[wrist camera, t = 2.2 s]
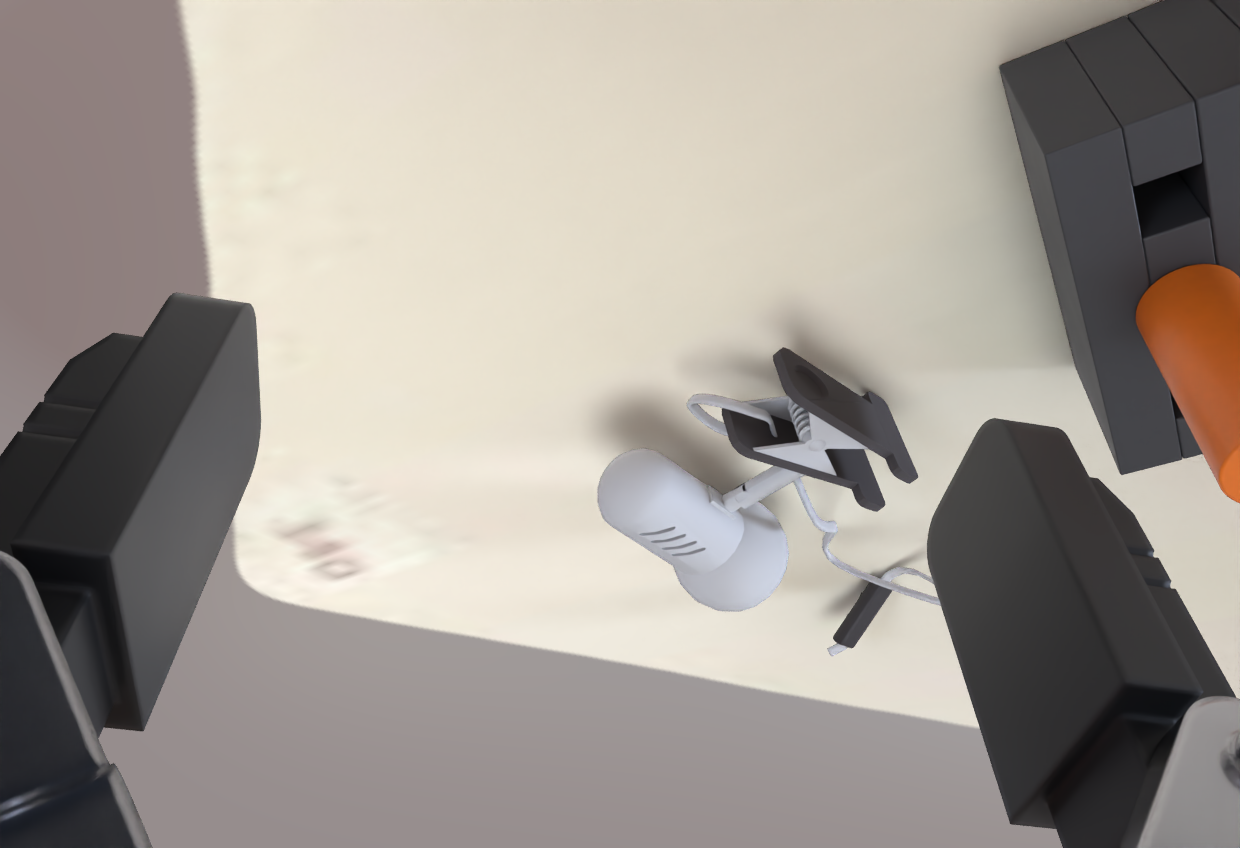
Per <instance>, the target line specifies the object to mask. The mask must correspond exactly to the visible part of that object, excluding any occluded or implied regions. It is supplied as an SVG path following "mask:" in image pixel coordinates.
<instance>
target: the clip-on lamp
mask: <svg viewBox="0 0 1240 848" xmlns="http://www.w3.org/2000/svg"><path fill="white" fill-rule="evenodd" d="M773 361H774V364H775V367H776V370H777V372H778V375H779V378H780V381H781V384H782V387H783V389H784V390H785V392H786V394H787V395H788V396H784V397H776V398H768V399H760V400H752V401H744V402H740V401H737V400H734V399H730V398H726V397H722V396H717V395H710V394H696V395H693V396H692V397H691V398H690V399H689V401H688V402H687V407H688V409H689V410H690V411H691V413H692V414H693V415H694V416H695V417H696V418H697V419H699V420H700V421H701V422H702V423H704V424H705V425H706V426H708V427H709V428H711V429H712V430H714V431H715V432H718V433H720V434H723V435H725V436H728V437H729V440H730V442H731V444H732V446H733V447H734V448H735V449H736V451H737V452H738V453H740V454H741V455H743V456H745V457H747V458H750V459H754V460H757V461H760V462H764V463H767V464H770V465H774V466H773V467H771V468H769V469H768V470H766V471H764V472H762V473H761V474H759V475H757V476H755V477H754V478H752V479H750V480H749V481H747V482H745V483H743V484H742V485H740V486H738V487H736V488H735V489H733V490H732V491H730V492H728V493H726V494H725V495H723V494H721V493H720V492H718V491H717V490H716V489H714V488H713V487H712V486H710V485H709V486H707V485H705V484H704V483H702V482H701V481H699V480H698V479H697V478H695V477H694V476H692V475H691V474H690V473H688V472H687V471H685V470H684V469H682V468H681V467H680V466H678V465H677V464H675V463H674V462H673V461H671V460H670V459H668V458H667V457H665V456H664V455H663V454H661V453H659V452H656V451H653V450H650V449H646V448H642V449H634V450H630V451H628V452H625V453H623V454H621V455H619V456H618V457H616V458H615V459H614V460H613V461H611V463H610V464H609V465H608V466H607V468H606V469H605V470H604V472H603V474H602V476H601V478H600V481H599V485H598V505H599V508H600V511H601V514H602V517H603V519H604V520H605V521H606V522H607V523H608V524H609V525H610V526H612V527H613V528H615V529H616V530H618V531H620V532H621V533H623V534H624V535H626V536H627V537H629V538H630V539H632V540H634V541H635V542H637V543H638V544H640V545H641V546H643V547H644V548H646V549H648V550H649V551H651V552H652V553H654V554H655V555H657V556H659V557H660V558H662V559H663V560H665V561H666V562H668V563H669V564H671V565H673V567H674V570H675V572H676V575H677V577H678V579H679V582H680V584H681V585H682V586H683V588H684V589H685V590H686V591H687V592H688V593H689V594H690V595H691V596H692V597H693V598H694V599H695V600H696V601H698V602H699V603H701V604H704V605H706V606H708V607H711V608H713V609H715V610H718V611H743V610H746V609H749V608H752V607H755V606H757V605H758V604H760V603H761V602H762V601H764V600H765V599H767V598H768V597H769V596H770V595H771V594H772V593H773V591H774V590H775V589H776V588H777V586H778V585H779V584H780V582H781V579H782V577H783V575H784V573H785V571H786V568H787V561H788V555H789V551H788V544H787V538H786V534H785V532H784V531H783V529H782V527H781V525H780V523H779V521H778V519H777V518H776V516H775V515H774V514H772V513H771V512H770V511H769V510H768V509H767V508H766V507H764V506H763V505H762V504H761V503H759V502H758V501H760V500H761V499H763V498H765V497H767V496H768V495H770V494H772V493H774V492H776V491H777V490H779V489H781V488H783V487H784V486H786V485H788V484H790V483H792V482H794V484H795V486H796V489H797V491H798V493H799V496H800V498H801V500H802V503H803V505H804V507H805V509H806V511H807V514H808V516H809V517H810V519H811V521H812V522H813V524H814V525H815V526H816V527H817V528H818V529H819V530H821V531H823V532H825V535H824V537H823V544H822V548H823V551H824V553H825V555H826V557H827V559H828V560H830V561H831V562H832V563H833V564H835V565H836V566H837V567H839V568H841V569H843V570H844V571H846V572H848V573H850V574H852V575H854V576H857V577H859V578H862V579H864V580H867V581H869V582H870V583H869V584H868V586H867V587H866V588H865V590H864V591H863V593H862V592H861V595H860V597H859V599H858V600H857V602H856V603H855V605H854V606H853V608H852V609H851V611H850V612H849V614H848V615H847V617H846V618H845V620H844V621H843V623H842V624H841V626H840V627H839V629H838V630H837V632H836V633H835V635H834V636H833V639H834V640H835V642H837V644H835V645H833V646H831V647H829V648H827V650H828V652H829V654H830V655H831V656H834V655H836V654H837V653H839V652H841V651H843V650H845V649H847V648H848V647H849V648H853V647H854V646H855V645H856V643H857V642H858V640H859V639H860V638H861V636H862V635H863V633H864V632H865V630H866V629H867V627H868V626H869V624H870V623H871V621H872V620H873V618H874V617H875V615H876V614H877V612H878V611H879V609H880V608H881V607H882V605H883V604H884V602H885V601H886V599H887V598H888V596H889V595H890V593H891V592H892V590H893V591H896V592H899V593H902V594H905V595H908V596H911V597H914V598H917V599H920V600H923V601H926V602H930V603H933V604H936V605H940V606H941V604H940V601H939V598H937V597H934V596H930V595H927V594H924V593H921V592H918V591H915V590H911V589H908V588H905V587H902V586H900V585H897V584H894V583H891V581H892V580H893V578H894V577H897V576H899V575H902V574H904V573H906V574H912V575H917V576H920V577H922V578H924V579H926V580H928V581H930V582H931V583H933V584H934V582H933V579H932V577H930V576H927V575H925V574H923V573H921V572H919V571H917V570H915V569H910V568H904V567H897V568H894V569H892V570H890V571H887V572H886V573H885V574H884V575H883V577H882V578H881V579H880V578H877V577H875V576H872V575H870V574H867V573H865V572H862V571H860V570H857V569H855V568H853V567H851V566H849V565H847V564H845V563H843V562H841V561H840V560H839V559H837V558H836V557H835V556H834V555H833V554H831V553H830V551H829V549H828V544H829V543H830V541H831V539H832V538H833V537H834V536H835V534H836V533H837V532H838V528H837V524H836V522H835V521H828V522H827V521H824V520H822V519H821V518H820V517H819V516H818V515H817V514H816V512H815V510H814V508H813V507H812V504H811V502H810V500H809V497H808V495H807V493H806V490H805V488H804V486H803V483H802V481H801V479H800V477H802V476H804V475H807V476H810V477H814V478H817V479H820V480H824V481H827V482H830V483H834V484H837V485H840V486H844V487H847V488H850V489H852V491H853V494H854V496H855V499H856V501H857V503H858V504H859V505H860V506H862V507H864V508H866V509H869V510H872V511H876V512H878V511H879V510H880V509H881V508H883V507H884V506H885V501H884V498H883V496H882V493H881V491H880V488H879V486H878V483H877V481H876V478H875V476H874V473H873V471H872V468H871V466H870V463H869V461H868V458H867V456H866V453H865V451H864V449H870V450H872V451H874V452H875V453H877V454H878V455H880V456H882V457H883V458H885V459H886V461H887V464H888V466H889V469H890V470H891V472H892V473H893V475H894V476H895V477H897V478H898V479H900V480H902V481H904V482H906V483H909V484H910V483H911V482H913V481H914V480H916V479H917V478H918V474H917V472H916V470H915V467H914V465H913V463H912V460H911V458H910V456H909V454H908V451H907V449H906V447H905V444H904V442H903V440H902V437H901V435H900V433H899V431H898V428H897V426H896V424H895V421H894V419H893V417H892V414H891V412H890V410H889V408H888V406H887V404H886V402H885V401H884V400H883V399H882V398H880V397H879V396H877V395H875V394H873V393H872V392H867V393H866V394H865V395H864V396H862V397H861V396H859V395H858V394H856V393H854V392H853V391H851V390H850V389H848V388H847V387H845V386H844V385H842V384H841V383H839V382H838V381H836V380H835V379H833V378H832V377H830V376H829V375H827V374H826V373H824V372H823V371H821V370H820V369H818V368H817V367H815V366H813V365H812V364H810V363H809V362H807V361H806V360H804V359H803V358H801V357H800V356H798V355H797V354H795V353H794V352H792V351H791V350H789V349H787V348H784V347H783V348H782V349H780V350H779V351H778V352H777V353H776V354H774V355H773ZM698 404H706V405H711V406H716V407H721V408H722V416H723V420H724V423H723V422H720V421H718V420H716V419H715V418H713V417H712V416H710V415H709V414H708V413H707V412H705V411H704V410H703V409H702V408H701V407H700V406H699V405H698Z"/></svg>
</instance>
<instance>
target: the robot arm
mask: <svg viewBox="0 0 1240 848" xmlns="http://www.w3.org/2000/svg"><path fill="white" fill-rule="evenodd" d="M44 396H45V398H44V402H39V403H38V405H37V406H36V407H35V409H34V410H33V411H32V413H31V414H30V416H29V417H28V418H27V420H26V421H25V423H24V424H23V425H24V427H23V431H22V432H17V434H16V435H15V436H14V438H13V439H12V441H11V442H10V443H9V445H8V446H7V447H6V449H5V450H4V452H3V453H2V454H1V456H0V848H152V845H151V842H150V840H149V838H148V835H147V833H146V831H145V828H144V826H143V823H142V821H141V818H140V816H139V814H138V811H137V809H136V807H135V804H134V802H133V799H132V797H131V795H130V792H129V790H128V788H127V786H126V784H125V782H124V779H123V777H122V775H121V773H120V772H119V770H118V768H117V766H116V765H115V764H111V765H110V764H109V762H108V760H107V758H106V756H105V753H104V751H103V749H102V746H101V744H100V742H99V739H98V738H99V736H100V734H101V732H102V729H103V727H106V728H115V729H126V730H135V731H144V729H145V726H146V724H147V721H148V719H149V717H150V714H151V712H152V709H153V707H154V705H155V703H156V700H157V698H158V695H159V693H160V691H161V688H162V685H163V684H164V681H165V679H166V676H167V674H168V672H169V669H170V667H171V665H172V662H173V660H174V657H175V655H176V653H177V650H178V647H179V645H180V643H181V641H182V638H183V636H184V634H185V631H186V629H187V627H188V624H189V622H190V619H191V617H192V614H193V612H194V610H195V608H196V605H197V602H198V600H199V598H200V596H201V593H202V591H203V588H204V586H205V584H206V581H207V579H208V576H209V574H210V572H211V570H212V567H213V565H214V562H215V560H216V557H217V555H218V553H219V551H220V548H221V545H222V543H223V541H224V539H225V536H226V534H227V532H228V529H229V527H230V524H231V522H232V520H233V517H234V515H235V513H236V510H237V508H238V505H239V503H240V501H241V498H242V496H243V494H244V491H245V489H246V486H247V484H248V482H249V479H250V477H251V474H252V471H253V468H254V465H255V461H256V457H257V452H258V446H259V439H260V429H261V410H260V389H259V369H258V349H257V329H256V317H255V312H254V309H253V307H252V305H251V304H249V303H242V302H236V301H229V300H223V299H216V298H209V297H203V296H196V295H190V294H183V293H173V294H172V295H171V296H170V297H169V298H168V300H167V301H166V302H165V304H164V305H163V307H162V308H161V310H160V311H159V313H158V315H157V316H156V318H155V319H154V321H153V322H152V324H151V326H150V327H149V328H148V330H147V331H146V333H145V335H144V336H143V337H139V336H132V335H125V334H118V333H112V334H111V335H109V336H107V337H106V338H104V339H102V340H101V341H99V342H98V343H96V344H94V345H93V346H91V347H90V348H88V349H86V350H85V351H83V352H82V353H80V354H78V355H77V356H75V357H74V358H72V359H70V360H69V362H68V363H67V364H66V366H65V367H64V369H63V370H62V371H61V373H60V374H59V375H58V377H57V378H56V380H55V381H54V382H53V384H52V385H51V387H50V388H49V389H48V391H47V392H46V394H45V395H44ZM1153 552H1154V549H1153V548H1152V546H1151V544H1150V542H1149V540H1148V539H1147V537H1146V535H1145V533H1144V531H1143V530H1142V528H1141V526H1140V524H1139V523H1138V521H1137V519H1136V517H1135V515H1134V514H1133V513H1132V512H1131V511H1130V510H1129V509H1128V508H1127V507H1126V506H1125V505H1124V504H1123V503H1122V502H1121V501H1120V500H1119V499H1118V498H1117V497H1116V496H1115V495H1114V494H1113V493H1112V492H1111V491H1110V490H1109V489H1108V488H1107V487H1106V486H1105V485H1104V484H1103V483H1102V482H1101V481H1100V480H1099V479H1098V478H1091V477H1089V475H1088V474H1087V472H1086V470H1085V468H1084V466H1083V464H1082V462H1081V460H1080V459H1079V457H1078V455H1077V453H1076V451H1075V449H1074V447H1073V445H1072V444H1071V442H1070V440H1069V438H1068V436H1067V435H1066V433H1065V432H1063V431H1062V430H1061V429H1059V428H1055V427H1049V426H1042V425H1036V424H1029V423H1022V422H1016V421H1009V420H1003V419H996V418H994V419H990V420H988V421H986V422H985V423H984V424H983V425H982V426H981V428H980V429H979V430H978V432H977V434H976V435H975V437H974V439H973V441H972V443H971V445H970V447H969V449H968V451H967V452H966V454H965V456H964V458H963V460H962V462H961V464H960V466H959V468H958V469H957V471H956V473H955V475H954V477H953V479H952V481H951V483H950V485H949V486H948V488H947V490H946V492H945V494H944V496H943V498H942V500H941V501H940V503H939V505H938V507H937V509H936V511H935V513H934V515H933V518H932V521H931V524H930V528H929V533H928V540H927V558H928V565H929V569H930V572H931V575H932V579H933V582H934V585H935V588H936V591H937V594H938V597H939V601H940V604H941V607H942V610H943V613H944V616H945V620H946V623H947V626H948V629H949V632H950V635H951V638H952V642H953V645H954V648H955V651H956V654H957V657H958V660H959V664H960V667H961V670H962V673H963V676H964V679H965V683H966V686H967V689H968V692H969V695H970V698H971V701H972V705H973V708H974V711H975V714H976V717H977V720H978V723H979V727H980V730H981V733H982V736H983V739H984V742H985V745H986V748H987V752H988V755H989V758H990V761H991V764H992V768H993V771H994V774H995V777H996V780H997V783H998V786H999V790H1000V793H1001V796H1002V799H1003V802H1004V805H1005V809H1006V812H1007V815H1008V818H1009V821H1010V824H1013V825H1023V826H1033V827H1042V828H1052V829H1057V832H1058V835H1059V838H1060V841H1061V843H1062V846H1063V848H1240V699H1239V698H1236V696H1235V694H1234V692H1233V691H1232V689H1231V687H1230V685H1229V683H1228V682H1227V680H1226V678H1225V676H1224V674H1223V673H1222V671H1221V669H1220V667H1219V666H1218V664H1217V662H1216V660H1215V658H1214V657H1213V655H1212V653H1211V651H1210V649H1209V648H1208V646H1207V644H1206V642H1205V641H1204V639H1203V637H1202V635H1201V633H1200V632H1199V630H1198V628H1197V626H1196V624H1195V623H1194V621H1193V619H1192V617H1191V615H1190V614H1189V612H1188V610H1187V608H1186V607H1185V605H1184V603H1183V601H1182V599H1181V598H1180V596H1179V594H1178V592H1177V590H1176V589H1171V588H1170V583H1171V580H1170V578H1169V576H1168V574H1167V573H1166V571H1165V569H1164V567H1163V565H1162V564H1161V562H1160V560H1159V558H1154V557H1153Z"/></svg>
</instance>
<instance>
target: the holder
mask: <svg viewBox="0 0 1240 848" xmlns="http://www.w3.org/2000/svg"><path fill="white" fill-rule="evenodd" d="M999 69H1000V73H1001V77H1002V81H1003V85H1004V89H1005V92H1006V96H1007V100H1008V104H1009V108H1010V112H1011V116H1012V120H1013V124H1014V128H1015V132H1016V136H1017V140H1018V143H1019V147H1020V151H1021V155H1022V159H1023V163H1024V167H1025V171H1026V175H1027V179H1028V183H1029V187H1030V191H1031V194H1032V198H1033V202H1034V206H1035V210H1036V214H1037V218H1038V222H1039V226H1040V230H1041V234H1042V238H1043V241H1044V245H1045V249H1046V253H1047V257H1048V261H1049V265H1050V269H1051V273H1052V277H1053V281H1054V285H1055V289H1056V292H1057V296H1058V300H1059V304H1060V308H1061V312H1062V316H1063V320H1064V324H1065V328H1066V332H1067V336H1068V340H1069V343H1070V347H1071V351H1072V355H1073V359H1074V363H1075V367H1076V370H1077V372H1078V375H1079V377H1080V379H1081V382H1082V384H1083V386H1084V389H1085V391H1086V394H1087V396H1088V398H1089V401H1090V403H1091V405H1092V408H1093V410H1094V413H1095V415H1096V417H1097V420H1098V422H1099V425H1100V427H1101V429H1102V432H1103V434H1104V436H1105V439H1106V441H1107V444H1108V446H1109V448H1110V451H1111V453H1112V455H1113V458H1114V460H1115V463H1116V465H1117V467H1118V470H1119V472H1120V474H1121V475H1124V474H1128V473H1132V472H1136V471H1140V470H1143V469H1147V468H1151V467H1155V466H1159V465H1163V464H1167V463H1171V462H1175V461H1179V460H1182V457H1183V458H1189V457H1193V456H1197V455H1201V454H1203V453H1202V451H1201V449H1200V447H1199V445H1198V443H1197V442H1196V440H1195V438H1194V436H1193V434H1192V432H1191V430H1190V428H1189V426H1188V424H1187V422H1186V420H1185V418H1184V416H1183V414H1182V412H1181V410H1180V409H1179V407H1178V405H1177V403H1176V401H1175V399H1174V397H1173V395H1172V393H1171V391H1170V389H1169V387H1168V385H1167V383H1166V381H1165V379H1164V378H1163V376H1162V374H1161V372H1160V370H1159V368H1158V366H1157V364H1156V362H1155V360H1154V358H1153V356H1152V354H1151V352H1150V350H1149V348H1148V347H1147V345H1146V343H1145V341H1144V339H1143V337H1142V335H1141V333H1140V331H1139V329H1138V327H1137V324H1136V310H1137V306H1138V304H1139V301H1140V300H1141V298H1142V296H1143V295H1144V293H1145V292H1146V291H1147V290H1148V289H1149V287H1150V286H1151V285H1153V284H1154V283H1155V282H1156V281H1157V280H1159V279H1160V278H1162V277H1163V276H1165V275H1167V274H1168V273H1170V272H1172V271H1175V270H1177V269H1180V268H1183V267H1186V266H1190V265H1196V264H1214V265H1219V266H1222V267H1225V268H1227V269H1230V270H1231V271H1233V272H1234V273H1235V274H1237V275H1238V276H1239V278H1240V0H1164V1H1161V2H1159V3H1156V4H1154V5H1151V6H1149V7H1146V8H1144V9H1141V10H1139V11H1136V12H1134V13H1131V14H1129V15H1128V18H1127V17H1126V16H1123V17H1121V18H1118V19H1116V20H1113V21H1111V22H1108V23H1106V24H1103V25H1101V26H1098V27H1096V28H1093V29H1091V30H1088V31H1086V32H1083V33H1081V34H1078V35H1076V36H1073V37H1071V38H1068V39H1067V40H1066V42H1065V41H1064V40H1063V41H1060V42H1058V43H1055V44H1053V45H1050V46H1048V47H1045V48H1043V49H1040V50H1038V51H1035V52H1033V53H1030V54H1028V55H1025V56H1023V57H1020V58H1018V59H1015V60H1013V61H1010V62H1008V63H1005V64H1003V65H1000V66H999Z"/></svg>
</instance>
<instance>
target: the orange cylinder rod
mask: <svg viewBox="0 0 1240 848" xmlns="http://www.w3.org/2000/svg"><path fill="white" fill-rule="evenodd" d="M1136 324H1137V327H1138V329H1139V331H1140V333H1141V335H1142V337H1143V339H1144V341H1145V343H1146V345H1147V347H1148V348H1149V350H1150V352H1151V354H1152V356H1153V358H1154V360H1155V362H1156V364H1157V366H1158V368H1159V370H1160V372H1161V374H1162V376H1163V378H1164V379H1165V381H1166V383H1167V385H1168V387H1169V389H1170V391H1171V393H1172V395H1173V397H1174V399H1175V401H1176V403H1177V405H1178V407H1179V409H1180V410H1181V412H1182V414H1183V416H1184V418H1185V420H1186V422H1187V424H1188V426H1189V428H1190V430H1191V432H1192V434H1193V436H1194V438H1195V440H1196V442H1197V443H1198V445H1199V447H1200V449H1201V451H1202V453H1203V455H1204V457H1205V459H1206V461H1207V463H1208V465H1209V467H1210V469H1211V471H1212V473H1213V474H1214V476H1215V478H1216V480H1217V482H1218V484H1219V486H1220V488H1221V490H1222V491H1223V492H1224V494H1225V495H1227V496H1228V497H1229V498H1231V499H1232V500H1234V501H1236V502H1238V503H1240V278H1239V276H1238V275H1237V274H1235V273H1234V272H1233V271H1231V270H1230V269H1227V268H1225V267H1222V266H1219V265H1214V264H1196V265H1190V266H1186V267H1183V268H1180V269H1177V270H1175V271H1172V272H1170V273H1168V274H1167V275H1165V276H1163V277H1162V278H1160V279H1159V280H1157V281H1156V282H1155V283H1154V284H1153V285H1151V286H1150V287H1149V289H1148V290H1147V291H1146V292H1145V293H1144V295H1143V296H1142V298H1141V300H1140V301H1139V304H1138V306H1137V310H1136Z"/></svg>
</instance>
